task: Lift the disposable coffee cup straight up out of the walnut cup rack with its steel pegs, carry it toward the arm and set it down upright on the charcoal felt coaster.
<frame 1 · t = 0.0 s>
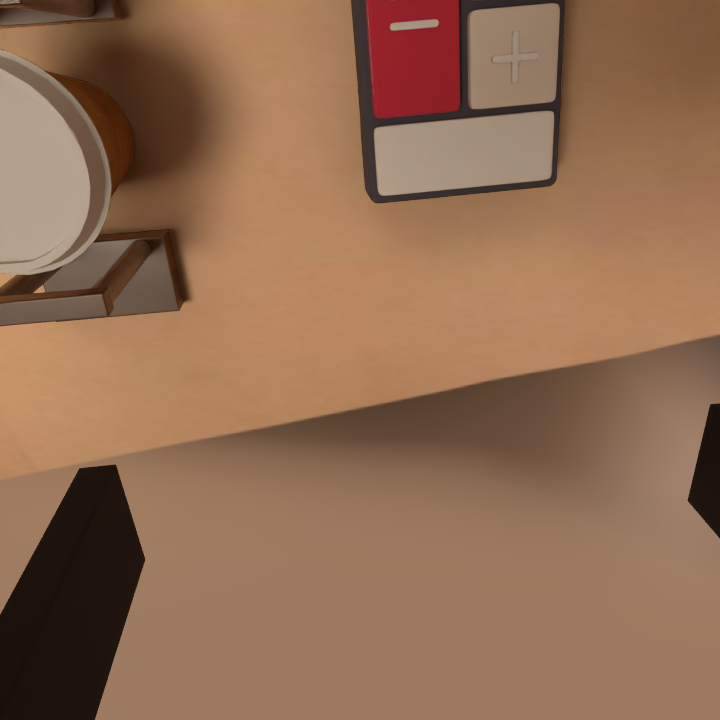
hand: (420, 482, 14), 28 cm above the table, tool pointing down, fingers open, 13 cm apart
cup rack: (78, 137, 35), on the table
calculator: (448, 53, 35), on the table
disposable coffee cup: (79, 137, 36), on the table
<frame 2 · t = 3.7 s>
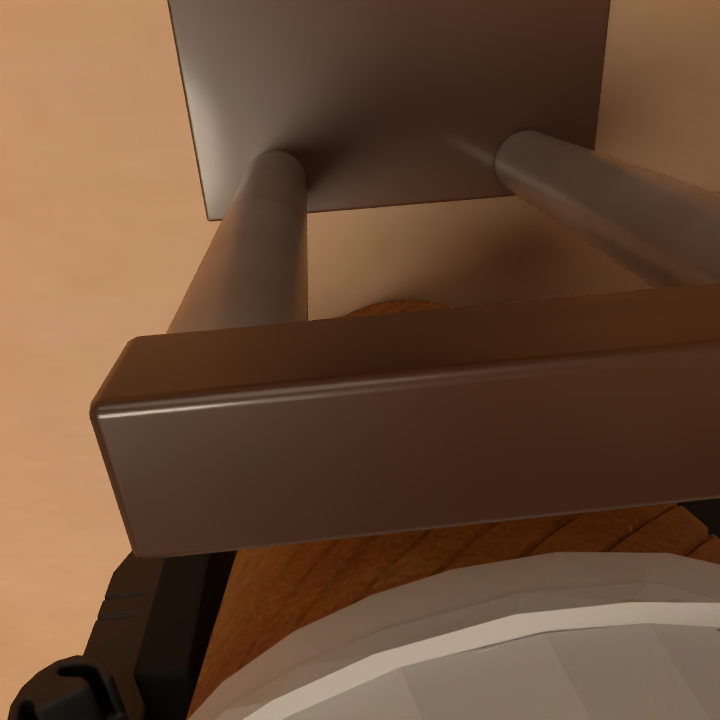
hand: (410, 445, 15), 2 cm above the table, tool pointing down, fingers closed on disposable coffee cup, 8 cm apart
cup rack: (401, 407, 16), on the table
disposable coffee cup: (400, 403, 17), on the table, touching gripper
when the fingers open (2 cm above the table, at t = 11.9 s): disposable coffee cup stays where it is, resting on coaster.
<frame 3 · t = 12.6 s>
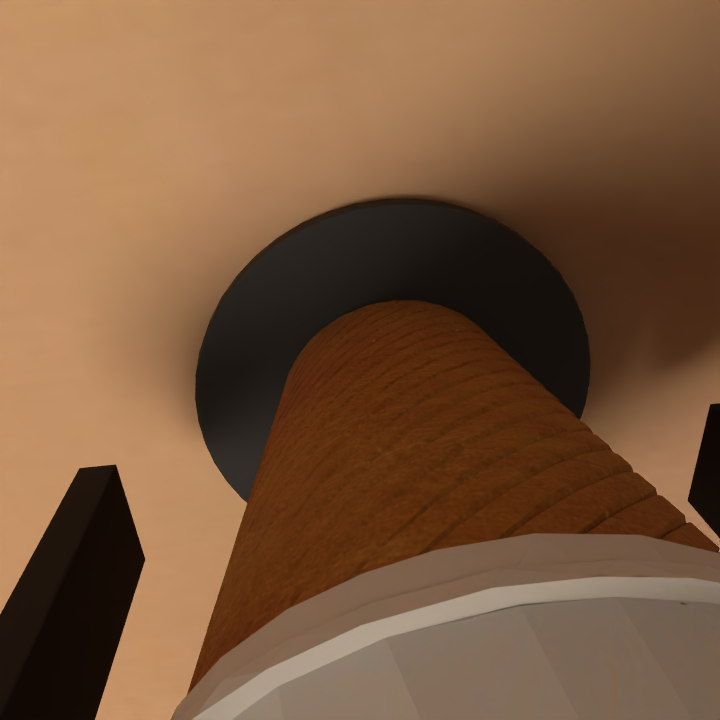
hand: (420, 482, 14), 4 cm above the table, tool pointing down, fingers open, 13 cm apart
disposable coffee cup: (395, 401, 17), resting on coaster
coaster: (394, 392, 17), on the table
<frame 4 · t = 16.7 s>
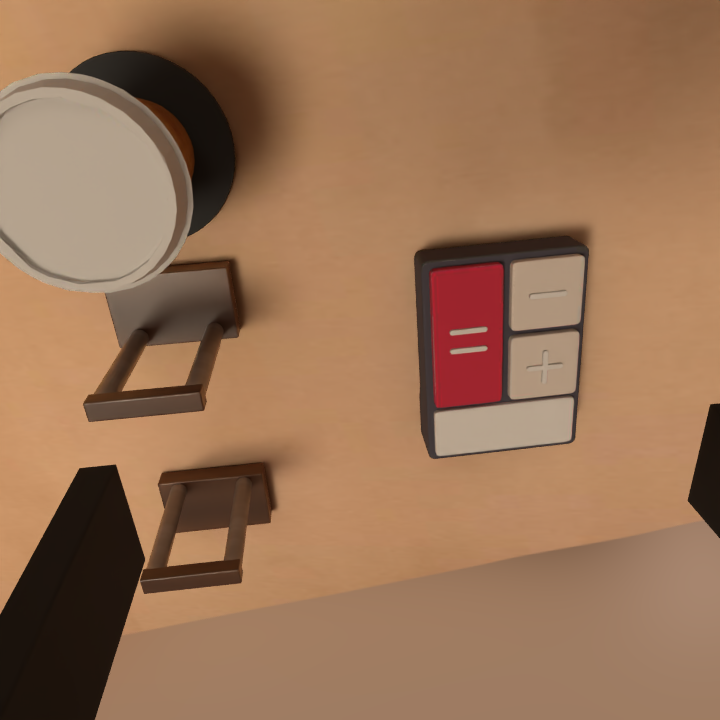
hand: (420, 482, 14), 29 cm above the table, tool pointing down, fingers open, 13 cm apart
cup rack: (198, 404, 45), on the table
calculator: (490, 339, 45), on the table
disposable coffee cup: (142, 154, 36), resting on coaster
coaster: (143, 152, 37), on the table
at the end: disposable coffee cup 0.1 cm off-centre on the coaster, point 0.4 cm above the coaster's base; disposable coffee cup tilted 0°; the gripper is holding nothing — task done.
